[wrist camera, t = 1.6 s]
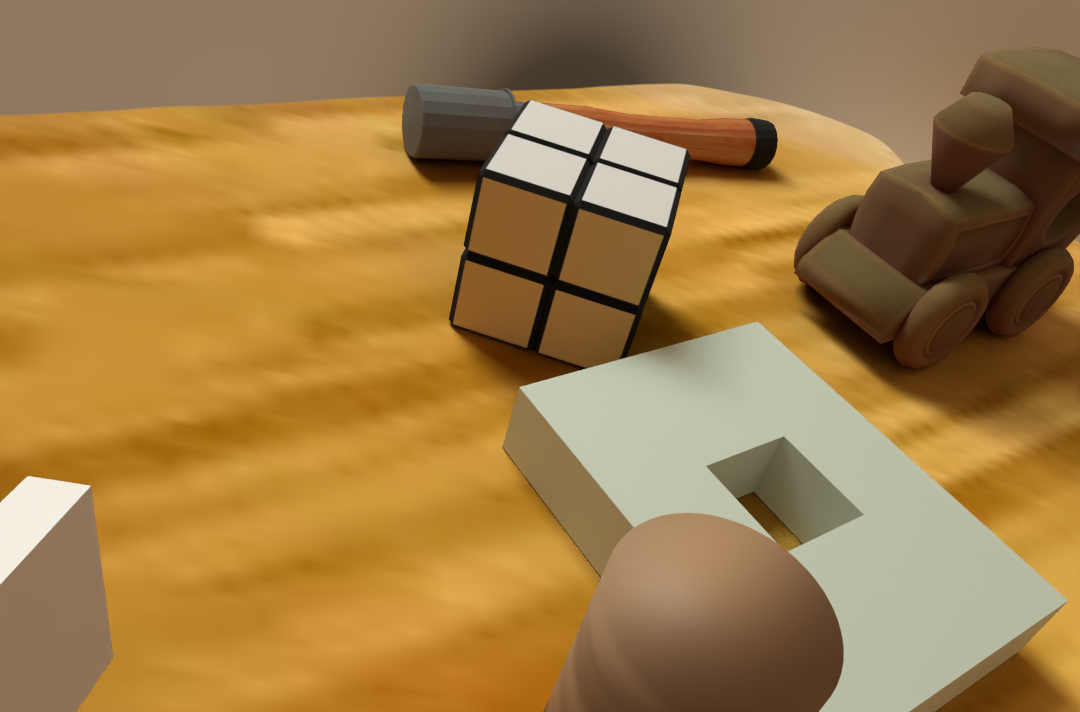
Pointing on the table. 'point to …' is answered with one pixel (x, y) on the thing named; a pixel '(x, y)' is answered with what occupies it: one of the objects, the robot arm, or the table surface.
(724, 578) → the peg
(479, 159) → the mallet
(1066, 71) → the wooden toy train
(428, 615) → the table surface
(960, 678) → the seat board
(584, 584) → the table surface
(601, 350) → the puzzle cube
